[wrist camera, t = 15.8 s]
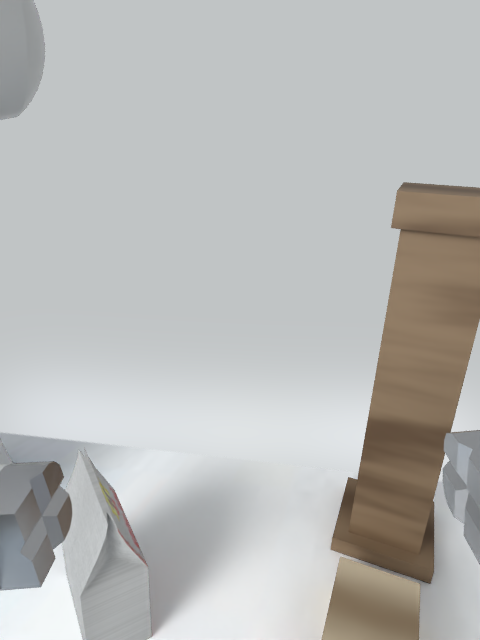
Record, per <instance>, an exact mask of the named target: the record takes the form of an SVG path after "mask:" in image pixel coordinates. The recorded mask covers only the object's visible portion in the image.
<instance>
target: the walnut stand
mask: <svg viewBox="0 0 480 640" xmlns="http://www.w3.org/2000/svg"><path fill="white" fill-rule="evenodd" d="M391 228H396V229H401V231H400V237H399V243H398V248H397V254H396V260H395V266H394V271H393V277H392V283H391V289H390V295H389V300H388V306H387V312H386V318H385V324H384V330H383V335H382V341H381V347H380V352H379V358H378V364H377V370H376V376H375V381H374V387H373V393H372V399H371V405H370V411H369V417H368V422H367V428H366V433H365V439H364V445H363V451H362V457H361V462H360V468H359V474H358V480H356V479H353V478H349V477H348V480H347V484H346V488H345V492H344V496H343V500H342V503H341V507H340V511H339V515H338V519H337V523H336V526H335V530H334V534H333V538H332V544H331V550H334V551H337V552H340V553H343V554H346V555H348V556H351V557H354V558H357V559H360V560H363V561H366V562H369V563H372V564H375V565H378V566H381V567H383V568H386V569H389V570H392V571H395V572H398V573H401V574H404V575H407V576H410V577H413V578H415V579H418V580H421V581H424V582H427V583H431V580H432V576H433V572H434V502H433V498H434V494H435V490H436V487H437V483H438V479H439V475H440V471H441V467H442V463H443V459H444V455H445V452H444V439H445V436H446V433H450V432H451V428H452V424H453V420H454V417H455V413H456V409H457V405H458V401H459V397H460V393H461V389H462V386H463V381H464V378H465V374H466V370H467V366H468V362H469V358H470V354H471V350H472V347H473V343H474V339H475V335H476V331H477V327H478V323H479V319H480V188H476V187H462V186H448V185H434V184H420V183H403V184H402V185H401V187H400V188H399V189H398V190H397V196H396V202H395V208H394V214H393V219H392V225H391Z"/></svg>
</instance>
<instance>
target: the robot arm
mask: <svg viewBox="0 0 480 640" xmlns="http://www.w3.org/2000/svg"><path fill="white" fill-rule="evenodd" d="M44 60H45V43H44V35H43V29H42V25H41V21H40V17H39V14H38V11H37V8H36V5H35V3H34V0H0V120H3V119H8V118H14V117H17V116H19V115H20V114H21V113H22V112H23V111H24V110H25V109H26V108H27V106H28V105H29V103H30V102H31V101H32V99H33V97H34V95H35V93H36V91H37V89H38V87H39V84H40V81H41V78H42V74H43V68H44ZM444 452H445V453H446V455H447V457H448V458H449V460H450V461H449V462H448V463H447V464H446V465H445V467H444V468H443V487H444V493H445V497H446V500H447V503H448V506H449V508H450V510H451V512H452V514H453V516H454V517H455V518H456V519H458V520H459V521H461V522H463V523H464V537H465V539H466V540H467V542H468V544H469V546H470V548H471V550H472V551H473V553H474V555H475V557H476V559H477V561H478V563H479V564H480V430H476V431H464V432H452V433H446V436H445V439H444ZM63 478H64V476H63V473H62V470H61V468H60V465H59V464H58V463H56V462H54V461H50V462H30V463H13V461H12V460H11V458H10V457H9V455H8V453H7V451H6V449H5V447H4V445H3V443H2V441H1V439H0V590H12V589H24V588H36V587H41V586H42V584H43V582H44V580H45V578H46V576H47V574H48V572H49V570H50V568H51V566H52V564H53V562H54V560H55V555H54V552H53V549H54V548H55V547H57V546H58V545H59V544H60V543H62V542H63V541H64V540H65V538H66V536H67V534H68V532H69V530H70V526H71V520H72V515H73V514H72V503H71V499H70V496H69V493H67V492H66V491H65V490H64V489H63V488H61V487H60V484H61V482H62V480H63Z"/></svg>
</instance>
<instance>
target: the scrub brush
mask: <svg viewBox="0 0 480 640" xmlns="http://www.w3.org/2000/svg"><path fill="white" fill-rule="evenodd" d="M419 612H420V584H419V583H416V582H413V581H410V580H408V579H405V578H402V577H399V576H396V575H393V574H390V573H387V572H384V571H381V570H378V569H375V568H372V567H369V566H367V565H364V564H361V563H358V562H355V561H352V560H349V559H346V558H343V557H340V560H339V564H338V569H337V573H336V578H335V582H334V587H333V591H332V596H331V600H330V604H329V609H328V613H327V618H326V622H325V627H324V631H323V635H322V640H419Z"/></svg>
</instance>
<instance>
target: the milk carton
mask: <svg viewBox="0 0 480 640" xmlns="http://www.w3.org/2000/svg"><path fill="white" fill-rule="evenodd" d="M84 448H85V447H84ZM65 491H66V492H67V493H69V496H70V499H71V503H72V514H73V515H72V520H71V526H70V530H69V532H68V534H67V536H66V538H65V540H64V541H63V542H62V548H63V555H64V561H65V568H66V575H67V579H68V583H69V587H70V591H71V595H72V599H73V603H74V607H75V611H76V615H77V619H78V623H79V627H80V631H81V635H82V639H83V640H147V639H149V638H151V637H152V632H151V613H150V594H149V575H148V566H147V563H146V561H145V559H144V557H143V554H142V552H141V550H140V547H139V545H138V543H137V541H136V538H135V536H134V534H133V531H132V529H131V527H130V525H129V522H128V520H127V518H126V515H125V513H124V511H123V509H122V506H121V504H120V502H119V499H118V497H117V495H116V493H115V490H114V489H113V488H112V486H111V485H110V484H109V483H108V482H107V481H106V479H105V478H104V477H103V476H102V475H101V474H100V472H99V471H98V470H97V469H96V468H95V466H94V465H93V463H92V462H91V460H90V459H89V457H88V455H87V452H86V450H85V456H84V455H83V454H82V452H81V451H80V450H78V456H77V461H76V464H75V467H74V470H73V473H72V475H71V478H70V480H69V482H68V484H67V487H66V489H65Z"/></svg>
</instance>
